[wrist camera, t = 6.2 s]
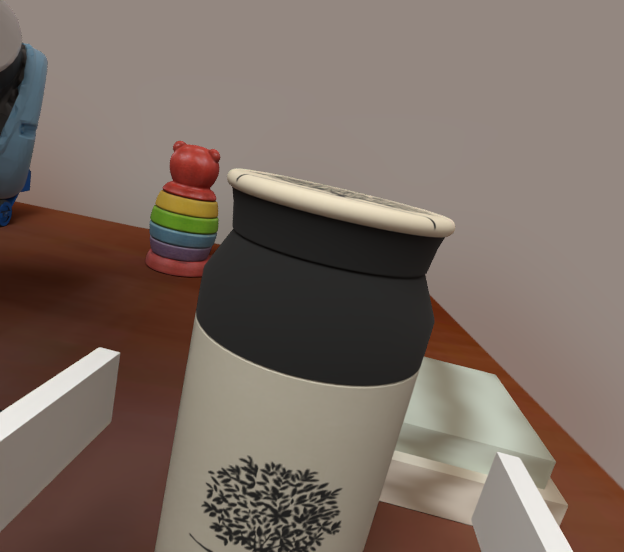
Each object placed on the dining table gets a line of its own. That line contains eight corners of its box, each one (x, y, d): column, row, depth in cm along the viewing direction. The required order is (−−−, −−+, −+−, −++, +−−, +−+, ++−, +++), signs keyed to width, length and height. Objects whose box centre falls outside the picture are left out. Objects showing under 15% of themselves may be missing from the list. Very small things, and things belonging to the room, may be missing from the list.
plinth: (325, 486, 27) (344, 415, 26) (336, 383, 41) (349, 333, 40) (550, 546, 27) (580, 477, 26) (485, 421, 40) (503, 372, 39)
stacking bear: (225, 269, 70) (246, 155, 66) (199, 284, 60) (222, 151, 56) (161, 253, 71) (178, 139, 67) (126, 264, 61) (143, 132, 57)
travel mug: (206, 511, 24) (275, 172, 19) (349, 576, 22) (460, 217, 17) (95, 660, 16) (167, 156, 12) (300, 778, 14) (473, 233, 10)
